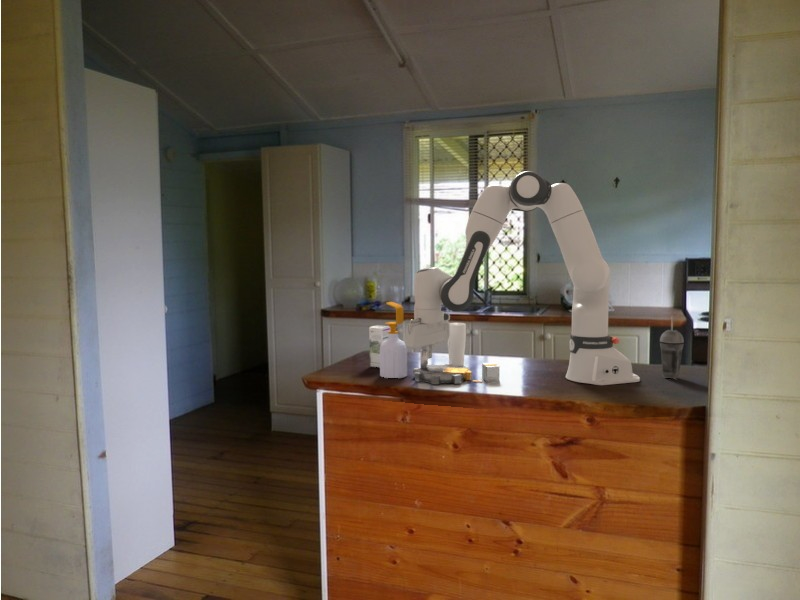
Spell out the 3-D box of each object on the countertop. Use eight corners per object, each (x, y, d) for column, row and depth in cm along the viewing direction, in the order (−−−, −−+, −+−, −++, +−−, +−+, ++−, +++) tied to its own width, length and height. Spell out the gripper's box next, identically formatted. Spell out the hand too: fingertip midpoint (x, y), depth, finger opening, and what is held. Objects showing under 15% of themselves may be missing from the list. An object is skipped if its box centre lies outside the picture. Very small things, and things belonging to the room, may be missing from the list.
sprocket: (421, 370, 211) (421, 345, 210) (476, 373, 205) (476, 347, 204) (405, 382, 193) (405, 355, 192) (465, 386, 187) (465, 358, 187)
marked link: (494, 377, 200) (494, 362, 200) (499, 382, 194) (499, 366, 194) (482, 378, 200) (482, 362, 199) (486, 382, 194) (487, 366, 193)
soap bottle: (389, 372, 210) (388, 300, 208) (412, 374, 206) (411, 301, 203) (374, 377, 203) (373, 303, 200) (398, 380, 198) (397, 304, 196)
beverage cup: (658, 379, 195) (660, 316, 193) (657, 374, 201) (659, 314, 199) (684, 381, 192) (686, 317, 190) (682, 376, 199) (684, 314, 197)
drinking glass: (466, 363, 223) (465, 322, 222) (466, 367, 216) (466, 325, 215) (447, 363, 224) (447, 322, 222) (446, 367, 217) (446, 325, 215)
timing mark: (472, 381, 195) (472, 380, 195) (473, 381, 196) (473, 380, 196) (481, 382, 193) (481, 381, 193) (482, 381, 194) (482, 380, 194)
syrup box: (391, 365, 221) (391, 325, 219) (382, 368, 216) (381, 327, 214) (378, 364, 224) (377, 324, 222) (369, 367, 219) (368, 326, 217)
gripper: (415, 321, 192) (416, 364, 193) (452, 314, 208) (453, 354, 209) (400, 319, 196) (400, 362, 197) (437, 312, 212) (438, 352, 213)
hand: (428, 358), depth 203 cm, fingers closed
